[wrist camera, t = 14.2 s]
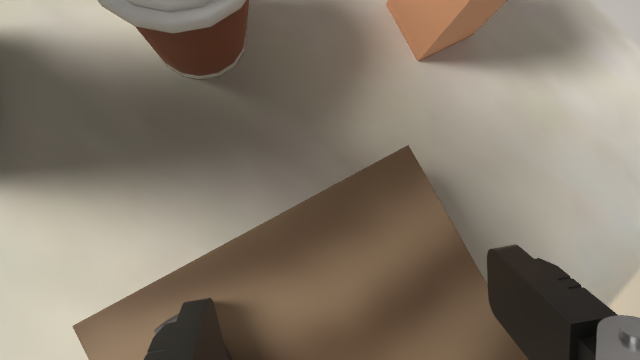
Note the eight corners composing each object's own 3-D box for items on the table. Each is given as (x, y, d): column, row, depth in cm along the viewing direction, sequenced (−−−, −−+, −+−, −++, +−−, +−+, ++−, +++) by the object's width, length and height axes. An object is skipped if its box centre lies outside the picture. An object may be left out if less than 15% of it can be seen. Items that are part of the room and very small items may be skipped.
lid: (80, 322, 22) (47, 337, 19) (402, 148, 26) (423, 134, 22) (205, 573, 22) (194, 637, 18) (521, 359, 25) (562, 377, 22)
